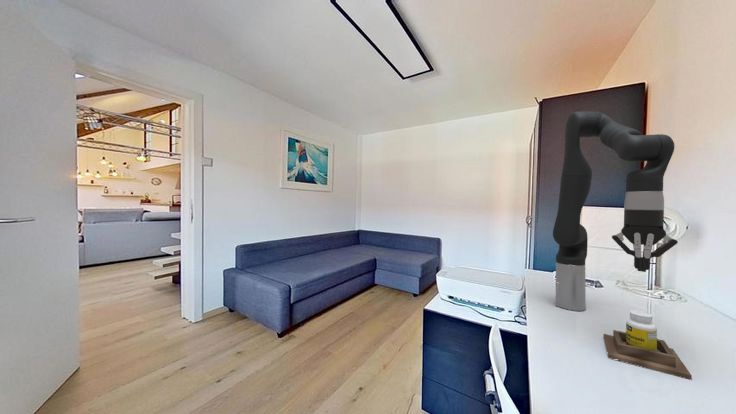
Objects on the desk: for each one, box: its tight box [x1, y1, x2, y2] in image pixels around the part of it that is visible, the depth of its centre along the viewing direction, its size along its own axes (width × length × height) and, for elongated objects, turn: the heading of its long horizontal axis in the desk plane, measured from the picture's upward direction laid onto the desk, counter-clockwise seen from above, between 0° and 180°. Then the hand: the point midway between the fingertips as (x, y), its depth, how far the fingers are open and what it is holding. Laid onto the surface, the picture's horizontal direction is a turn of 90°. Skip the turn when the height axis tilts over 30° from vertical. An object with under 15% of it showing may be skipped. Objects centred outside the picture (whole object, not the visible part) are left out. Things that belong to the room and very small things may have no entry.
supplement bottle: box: [625, 309, 658, 351], centre depth 70 cm, size 6×6×10 cm
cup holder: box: [603, 329, 693, 381], centre depth 70 cm, size 14×14×4 cm
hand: (641, 270), depth 72 cm, fingers closed
